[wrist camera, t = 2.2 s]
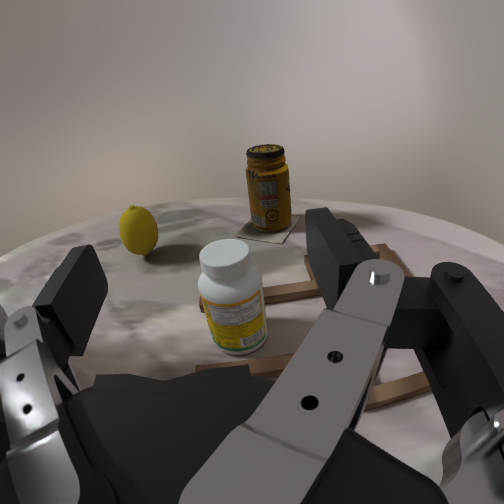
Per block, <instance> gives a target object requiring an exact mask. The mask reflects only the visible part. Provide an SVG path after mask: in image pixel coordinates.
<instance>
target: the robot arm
mask: <svg viewBox="0 0 504 504" xmlns="http://www.w3.org/2000/svg"><path fill="white" fill-rule="evenodd" d="M305 219H306V243H307V256H308V261H309V265H310V267H311V270H312V272H313V275H314V277H315V279H316V282H317V284H318V287H319V289H320V292H321V294H322V297H323V299H324V302H325V304H326V307H327V308H325V309H324V310H323V311H322V312H321V313H320V315H319V316H318V318H317V320H316V321H315V323H314V324H313V326H312V328H311V329H310V331H309V332H308V334H307V335H306V337H305V339H304V340H303V342H302V343H301V345H300V346H299V348H298V349H297V351H296V352H295V354H294V356H293V357H292V359H291V360H290V362H289V363H288V365H287V366H286V368H285V369H284V370H283V372H282V373H281V375H280V376H279V378H278V379H277V381H275V380H272V379H268V378H263V377H257V376H251V373H250V368H249V364H245V365H237V366H229V367H220V368H211V369H205V370H202V371H199V372H195V373H192V374H189V375H185V376H182V377H178V378H175V379H171V380H167V381H162V380H156V379H151V378H146V377H141V376H136V375H131V374H110V375H96V378H95V381H94V385H93V387H89V388H86V389H84V390H83V389H82V387H81V385H80V382H79V380H78V378H77V375H76V373H75V371H74V368H73V366H72V364H71V363H70V362H69V360H68V359H69V356H83V354H84V351H85V349H86V346H87V343H88V340H89V338H90V335H91V332H92V330H93V327H94V325H95V322H96V320H97V317H98V315H99V312H100V310H101V307H102V305H103V302H104V300H105V298H106V295H107V292H108V283H107V279H106V276H105V274H104V271H103V269H102V267H101V264H100V262H99V259H98V257H97V254H96V252H95V250H94V248H93V247H92V246H91V245H84V246H79V247H74V248H72V249H71V251H70V252H69V253H68V255H67V256H66V258H65V259H64V261H63V262H62V263H61V265H60V266H59V267H58V268H57V269H55V271H54V272H53V274H52V275H51V277H50V278H49V279H50V280H48V281H47V283H46V284H45V287H43V289H42V291H41V292H40V294H39V295H38V297H37V299H36V300H35V302H34V303H33V305H32V307H31V306H27V307H23V308H21V309H19V310H17V311H16V312H14V313H13V314H12V315H11V316H10V317H9V318H8V316H7V314H6V313H5V311H4V309H3V307H2V306H1V305H0V504H504V312H503V311H502V310H501V308H500V307H499V306H498V304H497V303H496V302H495V301H494V299H493V298H492V297H491V295H490V294H489V293H488V292H487V290H486V289H485V288H484V287H483V285H482V284H481V283H480V282H479V281H478V279H477V278H476V277H475V276H474V275H473V273H472V272H471V271H470V270H469V269H467V268H466V267H464V266H462V265H460V264H457V263H452V262H442V263H439V264H437V265H435V266H434V267H433V269H432V272H431V276H430V278H428V277H407V276H404V272H403V271H402V269H401V268H400V267H399V266H398V265H396V264H394V263H393V262H390V261H387V260H382V259H379V258H378V256H377V255H376V254H375V252H374V251H373V250H372V248H371V247H370V245H369V244H368V243H367V242H366V240H364V238H363V236H362V235H361V234H360V232H359V231H358V230H357V228H356V227H355V226H354V225H353V224H351V223H350V222H348V221H346V220H344V219H338V220H336V219H335V218H334V216H333V215H332V213H331V212H330V211H329V209H328V208H327V207H326V208H318V209H310V210H306V214H305ZM388 348H393V349H414V351H415V354H416V356H417V358H418V360H419V362H420V364H421V367H422V369H423V371H424V373H425V376H426V378H427V380H428V383H429V385H430V387H431V390H432V392H433V394H434V397H435V399H436V401H437V404H438V406H439V409H440V411H441V414H442V416H443V419H444V422H445V424H446V427H447V429H448V432H449V435H450V438H451V440H450V441H449V442H448V443H447V445H446V446H445V448H444V451H443V455H442V465H443V477H442V481H441V483H440V485H439V486H438V485H437V484H436V483H435V482H434V481H432V480H431V479H430V478H428V477H427V476H425V475H423V474H421V473H420V472H418V471H416V470H415V469H413V468H411V467H410V466H408V465H406V464H405V463H403V462H401V461H400V460H398V459H397V458H395V457H393V456H392V455H390V454H389V453H387V452H385V451H384V450H382V449H381V448H379V447H378V446H376V445H375V444H373V443H372V442H370V441H369V440H367V439H366V438H364V437H363V436H361V435H360V434H358V433H357V432H355V430H356V428H357V425H358V423H359V421H360V419H361V417H362V414H363V412H364V409H365V407H366V404H367V402H368V399H369V396H370V394H371V391H372V389H373V386H374V384H375V382H376V379H377V376H378V374H379V371H380V369H381V366H382V363H383V361H384V358H385V355H386V352H387V349H388Z"/></svg>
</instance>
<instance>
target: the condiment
mask: <svg viewBox="0 0 504 504" xmlns="http://www.w3.org/2000/svg"><path fill="white" fill-rule="evenodd" d="M246 154H247V165H248V167H247V169H246V177H247V184H248V194H249V202H250V211H251V218H252V219H251V220H250V221H249V222H248V223H247V224H245V226H244V227H243V228H242V229H241V230H240V231H239V232H237V234H236V235H235V236H238V237H241V238H247V239H252V240H259V241H267V242H272V243H281V244H282V242H283V241H284V239H285V238H286V236H287V235H288V234H289V232H290V231H291V230H292V229H293V227H294V226H295V224H296V223H297V221H298V220H299V218H300V216H295V215H291V199H290V186H289V170H288V166H287V164H286V163H285V156H284V148H283V147H282V146H280V145H275V144H266V145H259V146H254V147H252V148H249V149H248V150H247V153H246ZM251 228H252V229H251ZM274 234H276V235H274ZM271 235H273V236H271Z"/></svg>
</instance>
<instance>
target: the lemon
mask: <svg viewBox="0 0 504 504" xmlns="http://www.w3.org/2000/svg"><path fill="white" fill-rule="evenodd" d="M119 232H120V237H121V240H122V242H123V244H124V246H125V247H126V248H127V249H128V250H129V251H130V252H132V253H134V254H138V255H144V256H146V255H148V254H149V252H150V251H151V250H153V248H154V247H155V246H156V244H157V241H158V227H157V224H156V221H155V219H154V218H153V216H152V214H151V213H150V212H149V211H148V210H147V209H145V208H143V207H139V206H138V207H137V206H134V205H131V206H129V208H128V209H127V210H126V211H125V212H124V213H123V214H122V216H121V218H120V221H119Z"/></svg>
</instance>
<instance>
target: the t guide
mask: <svg viewBox="0 0 504 504" xmlns="http://www.w3.org/2000/svg"><path fill="white" fill-rule="evenodd" d="M370 247H371V248H372V250H373V251H374V252H375V254H376V255H377V256H378V258H379V259H382V260H387V261H390V262H393V263H394V264H396V265H398V266H399V267H400V268H401V269H402V271H403V272H404V276H407V277H411V276H410V275H409V273H408V272H407V271H406V269H405V268H404V267H403V265H402V264H401V263H400V262H399V260H398V259H397V258H396V256H395V255H394V254H393V253H392V251H391V250H390V249H389V248H388V246H387V245H386V244H385V243H384V244H378V245H371V246H370ZM304 263H305V265H306V268H307V271H308V273H309V276H310V278H311V281H305V282H298V283H292V284H285V285H278V286H271V287H265V288H263V294H264V303H265V304H267V303H274V302H281V301H287V300H294V299H300V298H306V297H313V296H319V295H322V294H321V292H320V289H319V287H318V284H317V282H316V279H315V277H314V275H313V272H312V270H311V267H310V265H309V261H308V256H307V255H304ZM199 306H200V310H201V312H205V311H204V307H203V304H202V300H201V297H200V302H199ZM294 354H295V353H292V354H286V355H280V356H273V357H266V358H259V359H252V360H244V361H236V362H227V363H218V364H208V365H197V366H196V372H199V371H202V370H205V369H211V368H220V367H229V366H237V365H245V364H249V368H250V373H251V376H257V377H263V378H272V377H279V376H280V375H281V373H282V372H283V370H284V369H285V368H286V366H287V365H288V363H289V362H290V360H291V359H292V357H293V356H294ZM429 390H431V387H430V385H429V383H428V380H427V378H426V376H425V373H424V371H423V372H420V373H417V374H414V375H411V376H408V377H404V378H401V379H398V380H394V381H391V382H388V383H384V384H380V385H377V386H373V389H372V391H371V394H370V396H369V399H368V402H367V404H366V407H365V409H364V411H366V410H370V409H373V408H377V407H380V406H384V405H387V404H390V403H394V402H397V401H400V400H403V399H406V398H409V397H412V396H415V395H418V394H421V393H424V392H427V391H429Z"/></svg>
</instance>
